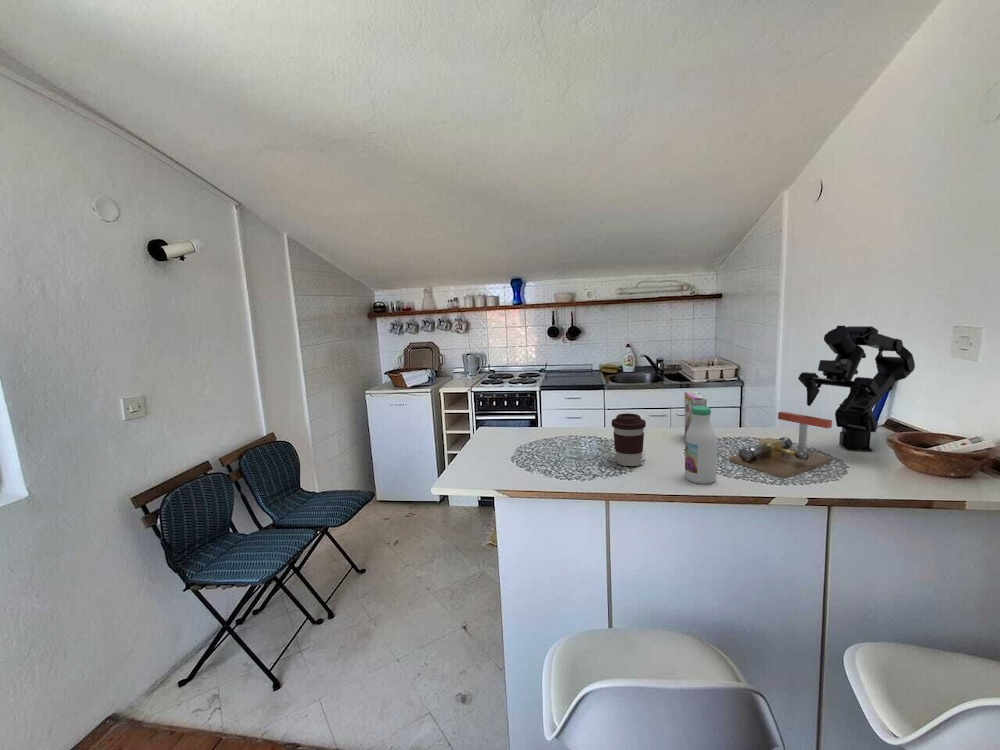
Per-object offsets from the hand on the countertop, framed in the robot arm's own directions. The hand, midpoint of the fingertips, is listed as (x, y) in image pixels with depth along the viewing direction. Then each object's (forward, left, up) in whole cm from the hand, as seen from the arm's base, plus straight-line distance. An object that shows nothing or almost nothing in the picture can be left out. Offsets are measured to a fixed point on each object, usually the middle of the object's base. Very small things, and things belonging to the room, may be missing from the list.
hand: (825, 408), depth 124 cm
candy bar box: (+34, -12, -15) cm, 39 cm away
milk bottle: (+36, +24, -15) cm, 46 cm away
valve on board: (+13, +6, -15) cm, 21 cm away
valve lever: (+8, +8, -13) cm, 17 cm away
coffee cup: (+55, +15, -15) cm, 59 cm away
